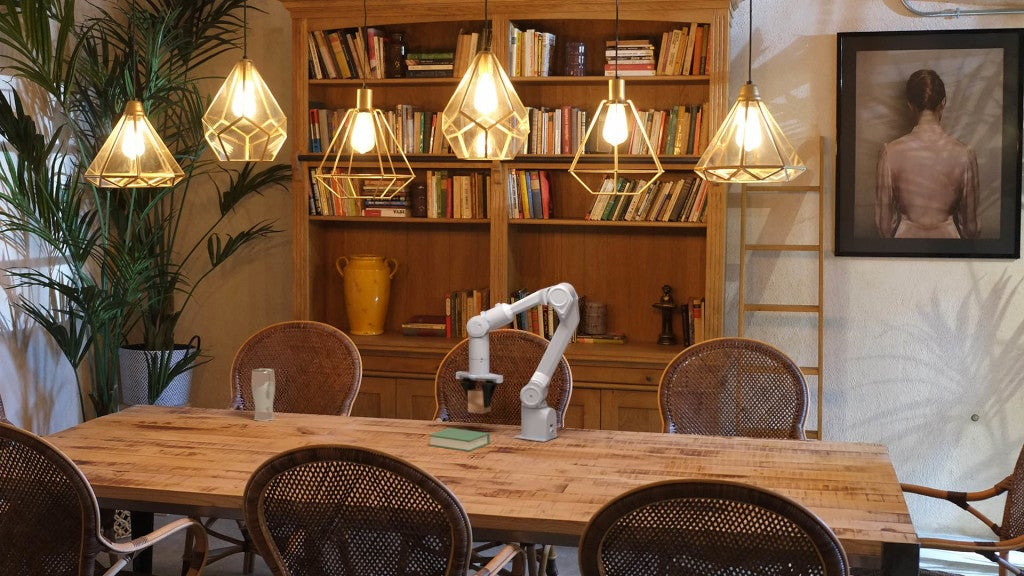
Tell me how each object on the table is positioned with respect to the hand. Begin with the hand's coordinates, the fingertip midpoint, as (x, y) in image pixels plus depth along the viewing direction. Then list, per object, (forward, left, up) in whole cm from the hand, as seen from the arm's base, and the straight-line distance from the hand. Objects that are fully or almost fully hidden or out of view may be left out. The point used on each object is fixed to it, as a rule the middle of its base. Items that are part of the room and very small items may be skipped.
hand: (479, 406), depth 296 cm
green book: (-2, +13, -8) cm, 15 cm away
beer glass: (+67, +16, -8) cm, 69 cm away
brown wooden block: (0, 0, -2) cm, 2 cm away
